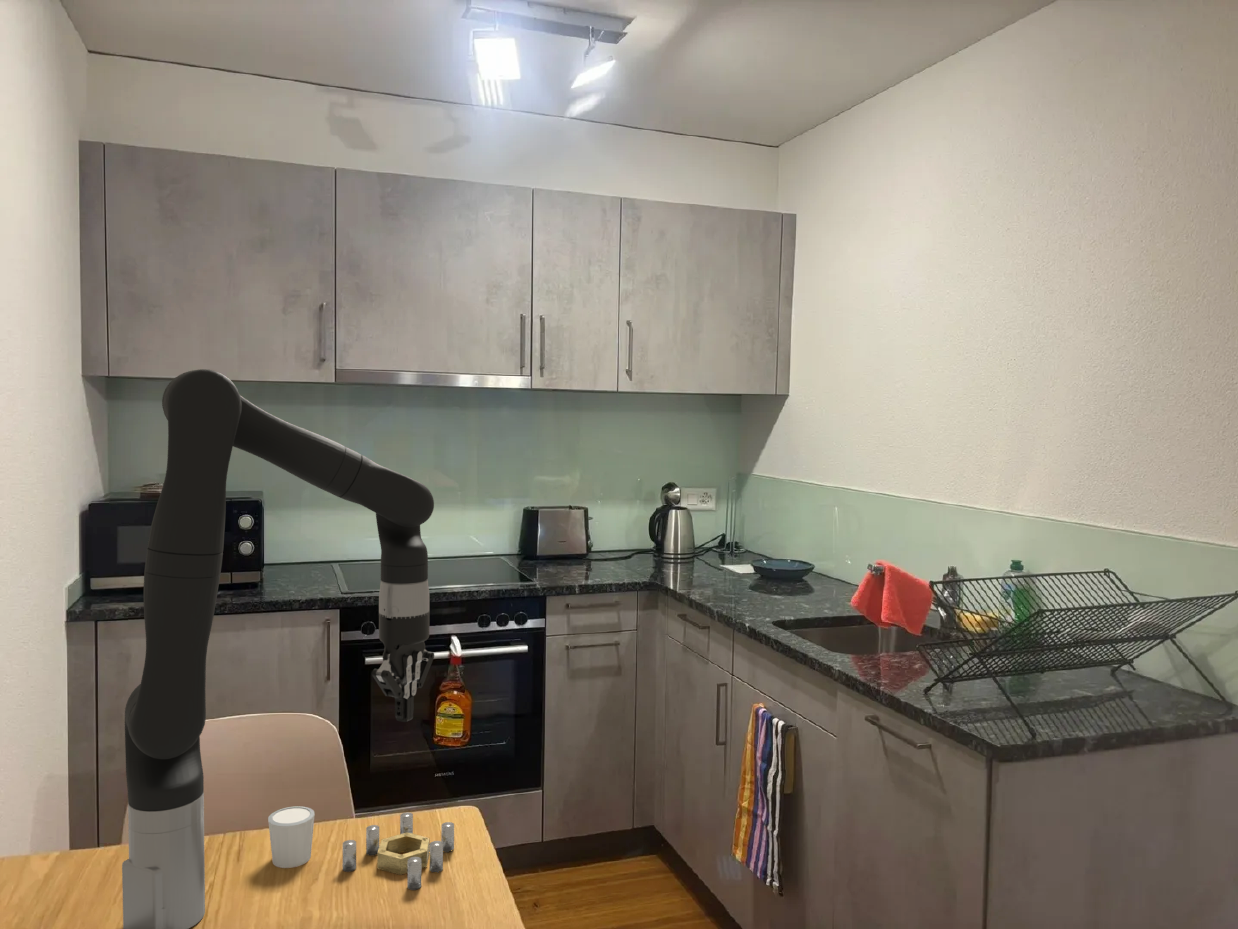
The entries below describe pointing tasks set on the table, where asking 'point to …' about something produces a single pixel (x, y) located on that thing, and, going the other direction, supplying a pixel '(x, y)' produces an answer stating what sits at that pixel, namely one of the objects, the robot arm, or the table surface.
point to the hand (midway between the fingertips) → (404, 720)
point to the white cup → (291, 836)
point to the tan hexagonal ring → (402, 843)
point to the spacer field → (413, 862)
